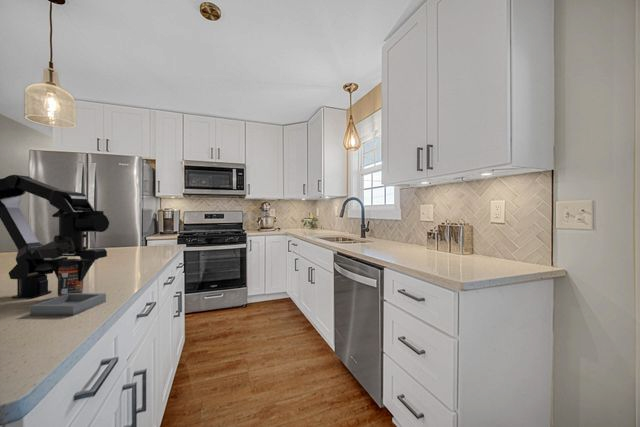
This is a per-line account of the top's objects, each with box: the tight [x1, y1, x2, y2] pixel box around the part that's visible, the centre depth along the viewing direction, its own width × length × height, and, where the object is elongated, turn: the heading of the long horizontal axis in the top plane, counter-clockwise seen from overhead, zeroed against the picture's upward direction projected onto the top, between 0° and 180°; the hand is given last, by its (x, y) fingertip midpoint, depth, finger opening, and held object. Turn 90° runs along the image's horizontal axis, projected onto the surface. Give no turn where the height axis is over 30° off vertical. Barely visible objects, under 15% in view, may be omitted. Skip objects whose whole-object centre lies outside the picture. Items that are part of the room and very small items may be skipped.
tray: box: [30, 292, 107, 317], centre depth 76 cm, size 11×11×2 cm
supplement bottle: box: [57, 258, 84, 297], centre depth 86 cm, size 6×6×11 cm
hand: (70, 280), depth 86 cm, fingers closed on supplement bottle, 6 cm apart
